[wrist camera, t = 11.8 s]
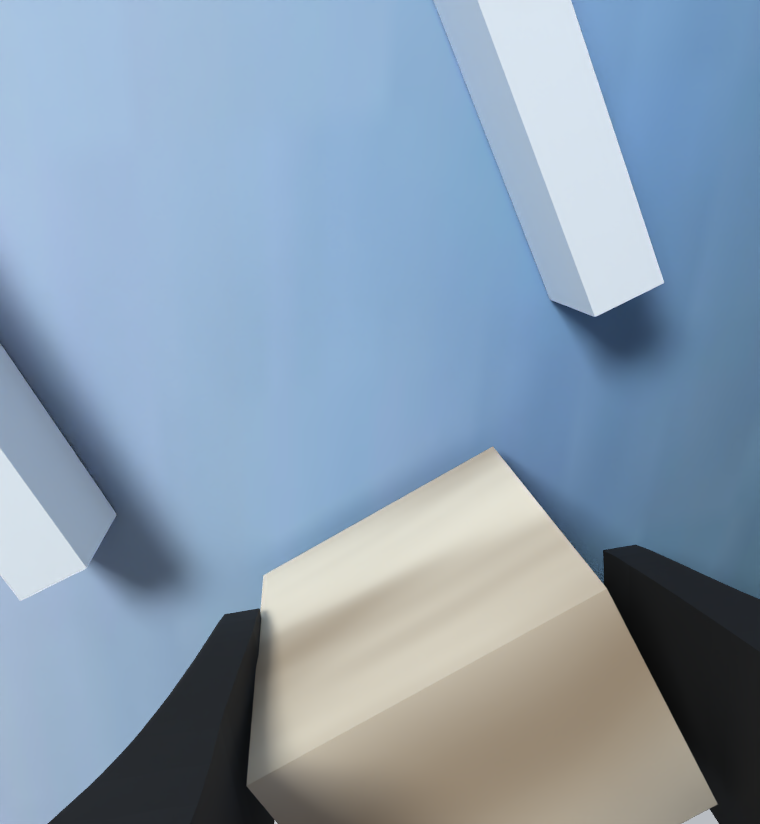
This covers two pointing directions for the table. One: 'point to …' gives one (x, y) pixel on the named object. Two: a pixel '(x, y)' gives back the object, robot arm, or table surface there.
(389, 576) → the pale gold metal block
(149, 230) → the table surface
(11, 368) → the trap channel
